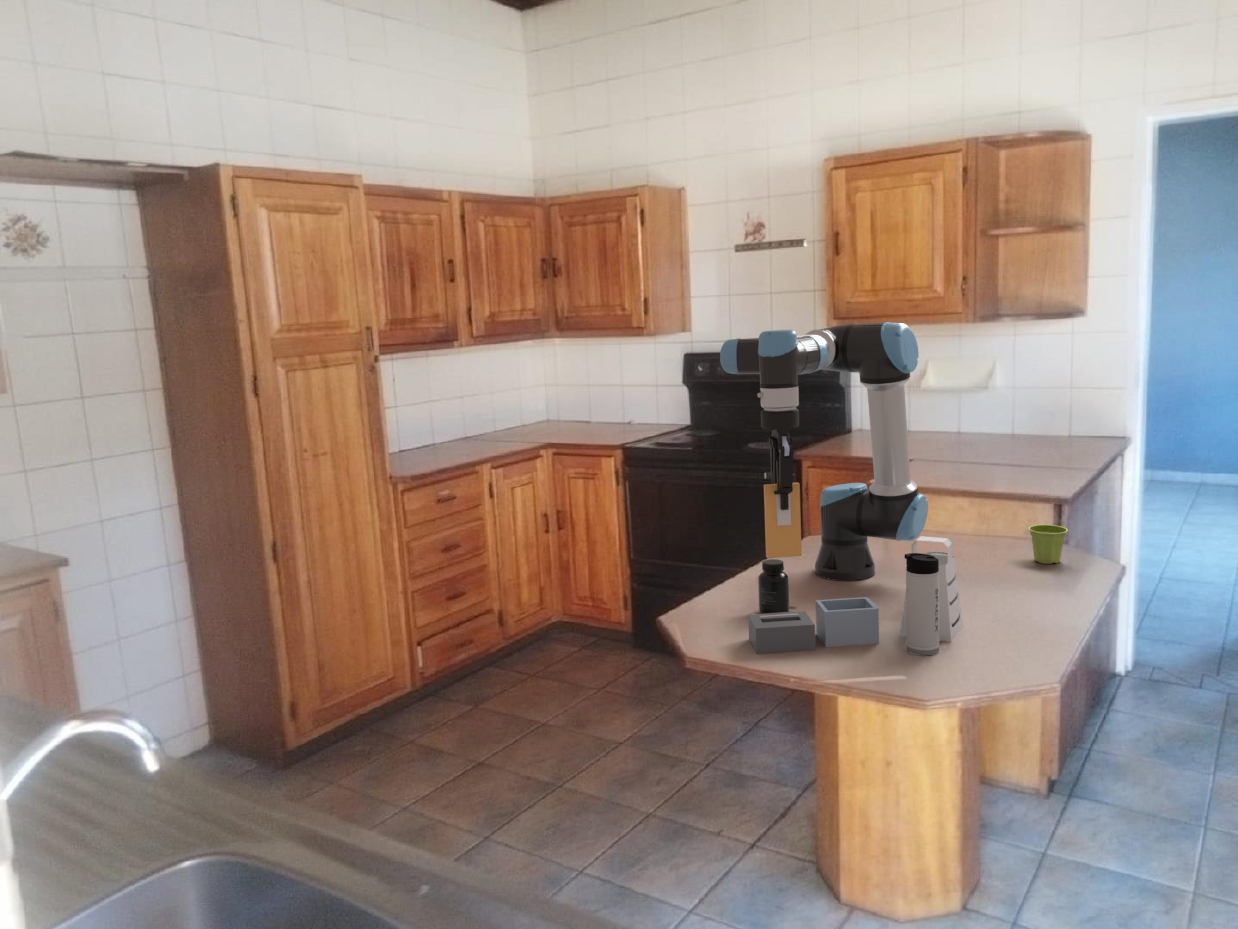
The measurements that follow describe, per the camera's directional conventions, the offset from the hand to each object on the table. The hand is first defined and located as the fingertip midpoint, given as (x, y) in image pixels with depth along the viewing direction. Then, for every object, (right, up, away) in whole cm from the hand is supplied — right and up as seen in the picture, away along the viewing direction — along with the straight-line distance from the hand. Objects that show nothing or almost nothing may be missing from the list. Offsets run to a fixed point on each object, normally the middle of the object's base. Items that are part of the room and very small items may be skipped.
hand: (782, 523), depth 198 cm
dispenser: (0, -26, +4) cm, 26 cm away
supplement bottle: (+2, -22, +27) cm, 35 cm away
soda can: (+40, -21, +25) cm, 51 cm away
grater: (+33, -24, +9) cm, 42 cm away
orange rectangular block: (0, -7, +1) cm, 7 cm away
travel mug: (+28, -26, -2) cm, 38 cm away
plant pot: (+78, -13, +56) cm, 97 cm away
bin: (+14, -25, +5) cm, 29 cm away
